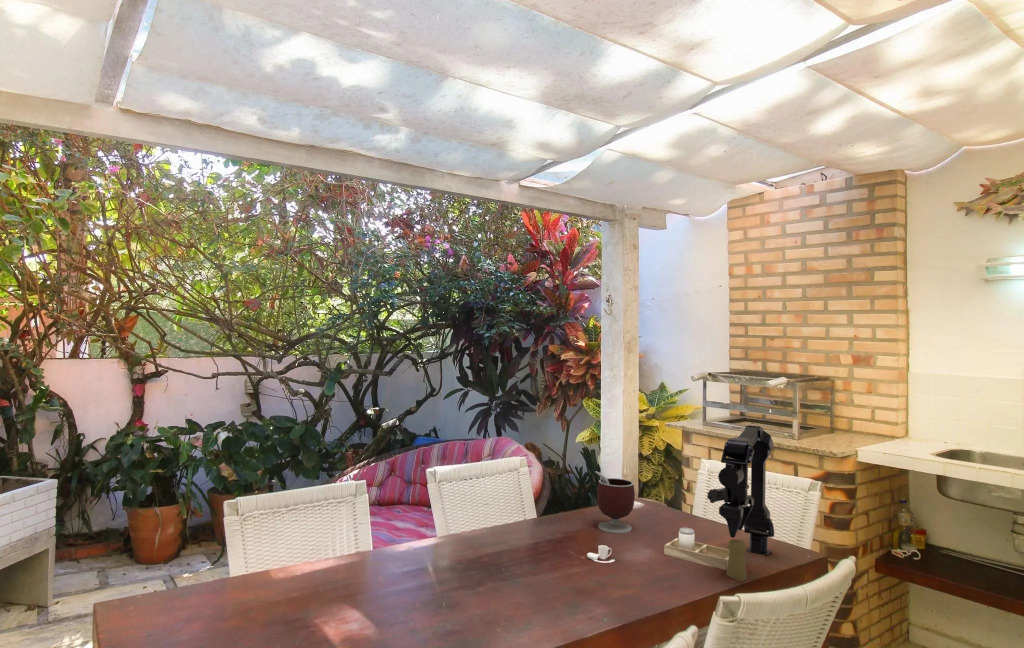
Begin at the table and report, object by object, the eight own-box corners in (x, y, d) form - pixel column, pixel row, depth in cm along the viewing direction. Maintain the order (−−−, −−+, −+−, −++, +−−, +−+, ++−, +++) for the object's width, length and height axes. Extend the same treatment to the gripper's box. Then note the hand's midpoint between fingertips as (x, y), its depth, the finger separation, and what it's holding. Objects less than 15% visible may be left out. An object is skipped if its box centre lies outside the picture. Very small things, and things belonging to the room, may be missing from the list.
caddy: (677, 548, 217) (677, 537, 217) (737, 562, 205) (737, 551, 205) (664, 556, 209) (664, 545, 209) (726, 572, 197) (726, 560, 197)
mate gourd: (639, 527, 241) (640, 473, 241) (625, 536, 229) (626, 480, 229) (601, 519, 249) (603, 468, 249) (585, 528, 237) (587, 474, 238)
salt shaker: (681, 550, 213) (682, 526, 214) (696, 554, 210) (697, 529, 211) (675, 554, 210) (676, 529, 210) (690, 557, 206) (691, 533, 207)
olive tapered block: (748, 582, 189) (749, 544, 189) (727, 579, 190) (728, 542, 190) (745, 574, 195) (746, 538, 195) (724, 572, 196) (725, 536, 196)
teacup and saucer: (585, 561, 203) (585, 548, 203) (591, 553, 211) (591, 541, 211) (612, 565, 200) (612, 552, 200) (617, 557, 207) (618, 545, 207)
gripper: (718, 472, 205) (717, 521, 205) (702, 483, 190) (700, 536, 189) (754, 477, 199) (753, 528, 199) (741, 489, 184) (739, 543, 183)
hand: (736, 533), depth 193 cm, fingers open, 9 cm apart
